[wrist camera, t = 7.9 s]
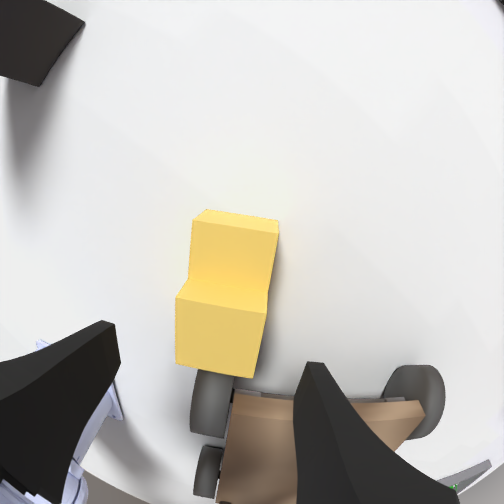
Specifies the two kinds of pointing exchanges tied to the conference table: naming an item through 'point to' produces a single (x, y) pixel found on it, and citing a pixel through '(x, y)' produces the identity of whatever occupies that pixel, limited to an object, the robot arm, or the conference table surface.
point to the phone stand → (33, 38)
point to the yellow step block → (225, 293)
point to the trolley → (282, 434)
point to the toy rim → (466, 476)
